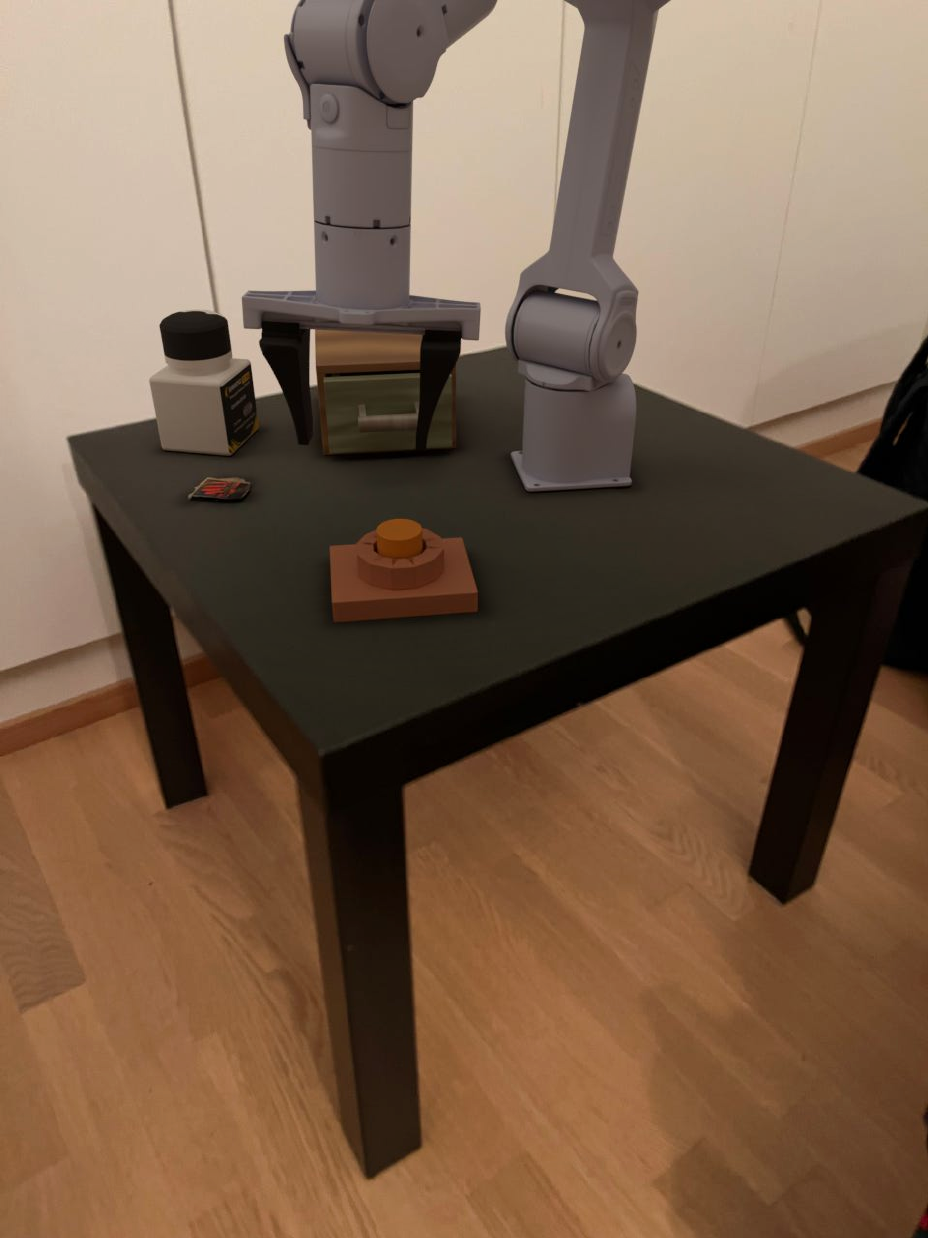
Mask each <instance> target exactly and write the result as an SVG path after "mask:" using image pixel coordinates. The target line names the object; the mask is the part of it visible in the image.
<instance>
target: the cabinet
mask: <svg viewBox="0 0 928 1238" xmlns="http://www.w3.org/2000/svg"><path fill="white" fill-rule="evenodd" d="M422 336H423V335H413V334H393V333H374V332H355V331H335V330H316V329H314V344H315V345H314V348H315V349H314V350H315V351H314V354H315V355H314V356H315V373H316V385H317V397H318V408H319V409H318V410H319V421H320V432H321V443H322V453H323V456H337V455H339V456H340V455H355V454H358V455H359V454H375V453H392V452H413V451H416V450H415V449H403V450H385V451H366V452H347V453H329V441H328V429H327V417H326V405H325V393H324V380H323V378H324V377H331V374H333V373H356V372H379V371H402V370H420V346H421V341H422ZM451 375H452V447H440V448H426V451H429V450H430V451H431V450H432V451H433V450H448V449H457V364H456V365H455V367H454V368H453V370H452V372H451Z"/></svg>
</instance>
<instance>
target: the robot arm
mask: <svg viewBox="0 0 928 1238" xmlns="http://www.w3.org/2000/svg"><path fill="white" fill-rule="evenodd" d="M563 1H564V2H566V3H567V4H569V5H571V6H572V7H574V8H576V9H577V10H578V12H579V15H580V17H581V19H582V22H583V25H584V26H583V27H584V28H583V29H584V30H583V35H582V42H581V47H580V55H579V61H578V68H577V73H576V80H575V85H574V91H573V99H572V103H571V104H572V105H571V111H570V117H569V123H568V129H567V130H568V131H567V137H566V141H565V142H566V143H565V149H564V155H563V162H562V167H561V173H560V180H559V187H558V191H557V199H556V203H555V204H556V205H555V212H554V218H553V224H552V229H551V235H550V236H551V238H550V242H549V248H548V251H547V252H546V253H544V254H543V255H542V256H540V257H539V258H538V259H536V260H535V261H534V262H532V263H531V264H529V265H528V266H526V267H525V268H524V269H523V270H522V271H521V272H520V275H519V281H518V287H517V290H516V294H515V296H514V299H513V302H512V304H511V306H510V308H509V310H508V312H507V316H506V320H505V325H504V337H505V338H504V339H505V345H506V348H507V352H508V354H509V356H510V357H511V358H512V359H513V360H514V361H515V362H517V374H519V375H522V376H524V394H523V395H524V397H523V421H522V422H523V424H522V448H521V450H515V451H512V452H511V453H510V458H511V460H512V463H513V465H514V468H515V469H516V471H517V473H518V476H519V478H520V480H521V483H522V485H523V487H524V490H526V492H530V493H534V492H549V491H551V492H552V491H566V490H584V489H603V488H617V487H629V486H631V485H632V484H633V480H632V478H631V477H630V476H631V470H632V469H631V467H632V458H633V450H634V441H635V430H636V421H637V395H636V389H635V385H634V382H633V379H632V378H631V376H630V375H629V374H627V373H624V372H625V370H626V369H627V368H628V366H629V364H630V362H631V360H632V357H633V355H634V352H635V349H636V344H637V335H638V330H637V329H638V327H637V308H638V301H639V293H640V292H639V289H638V288H637V286H636V285H635V284H634V282H633V281H632V280H631V279H630V277H629V276H628V275H627V274H626V273H625V272H624V271H623V269H622V268H621V267H620V266H619V264H618V263H617V262H616V260H615V259H614V254H615V249H616V243H617V238H618V231H619V226H620V222H621V216H622V211H623V206H624V205H623V204H624V199H625V194H626V190H627V184H628V179H629V173H630V168H631V162H632V158H633V153H634V152H633V151H634V147H635V140H636V135H637V130H638V125H639V121H640V120H639V119H640V114H641V108H642V103H643V99H644V91H645V86H646V81H647V76H648V71H649V66H650V61H651V55H652V54H651V53H652V49H653V44H654V38H655V33H656V27H657V22H658V18H659V17H658V16H659V10H660V9H662V8H663V7H665V6H666V5H667V4H668V3H670V2H671V1H672V0H563ZM497 3H498V0H299V1H298V3H297V4H296V6H295V8H294V11H293V14H292V17H291V23H290V29H289V30H290V31H289V33H285V34H284V35H283V45H284V52H285V56H286V60H287V64H288V67H289V69H290V71H291V74H292V76H293V79H294V80H295V81H296V83H297V85H298V87H299V90H300V93H301V99H302V118H303V120H305V121H306V125H307V128H308V130H310V131H311V132H310V134H311V135H310V137H311V162H312V164H311V166H312V167H311V170H312V171H311V172H312V201H313V204H312V205H313V236H314V237H313V238H314V241H313V242H314V273H315V290H250V289H249V290H247V291H246V292H245V293H244V294H243V295H242V296H241V307H242V308H241V309H242V310H241V311H242V323H243V324H242V325H243V329H244V330H245V329H248V330H261V335H260V336H261V338H260V339H259V341H258V345H259V348H260V351H261V354H262V356H263V358H264V359H265V361H266V363H267V364H268V366H269V368H270V369H271V371H272V373H273V375H274V377H275V378H276V380H277V383H278V385H279V387H280V389H281V392H282V394H283V396H284V398H285V399H284V400H285V401H286V404H287V407H288V409H289V413H290V416H291V419H292V422H293V426H294V430H295V435H296V439H297V444H298V446H309V445H310V443H311V441H312V438H313V436H314V417H313V416H314V415H313V407H312V405H313V404H312V396H311V395H312V394H311V384H310V381H311V380H310V376H311V373H310V369H311V367H310V364H311V363H310V362H311V361H310V358H311V330H315V329H316V330H335V331H355V332H374V333H393V334H413V335H423V336H422V341H421V346H420V400H419V413H418V421H417V430H416V446H415V450H414V451H419V452H425V451H427V450H426V447H427V438H428V433H429V428H430V425H431V421H432V418H433V414H434V411H435V409H436V406H437V403H438V400H439V398H440V395H441V393H442V391H443V388H444V386H445V384H446V382H447V380H448V378H449V376H450V374H451V372H452V370H453V368H454V367H455V365H456V366H457V362H458V360H459V358H460V356H461V352H462V340H464V341H479V340H480V329H481V328H480V327H481V310H482V308H481V303H480V302H479V301H478V302H477V301H465V300H464V301H462V300H455V299H454V300H453V299H446V298H437V297H430V296H429V297H428V296H422V295H413V294H410V287H411V284H410V283H411V240H412V239H411V238H412V237H411V236H412V235H411V234H412V231H411V230H412V224H411V223H412V181H413V180H412V179H413V178H412V177H413V141H414V140H413V139H414V136H413V134H414V133H413V131H414V101H415V100H417V99H422V98H424V97H425V96H426V94H427V93H428V91H429V89H430V87H431V85H432V84H433V81H434V78H435V75H436V72H437V67H438V64H439V60H440V59H441V57H442V56H443V55H444V54H445V53H446V52H447V49H449V48H450V47H451V46H452V45H454V44H455V43H456V42H458V41H459V40H460V39H461V38H462V37H464V36H465V35H466V34H468V33H470V31H471V30H473V29H474V28H476V27H477V26H478V25H479V24H480V23H482V22H483V21H484V20H485V19H487V18H488V17H489V16H490V15H491V14H492V12H493V11H494V9H495V7H496V6H497ZM559 289H561V290H566V291H571V292H577V293H582V294H587V295H590V296H592V297H593V298H595V299H590V298H585V297H580V296H577V295H576V296H575V295H570V294H564V293H560V292H557V291H558V290H559Z"/></svg>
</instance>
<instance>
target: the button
mask: <svg viewBox="0 0 928 1238" xmlns="http://www.w3.org/2000/svg"><path fill="white" fill-rule="evenodd" d="M422 528H423V527H422V525H421V524H420V523H419V522H417V521H415V520H412V519H410V518H409V519H408V518H392V519H388V520H385V521H383V522H381V523H380V524H379V525H378V526H377V527H376V529H375V530H376V534H377V551H378V554H379V555H380V556H381V557H386V558H391V559H409V558H412V557H415V556H417V555H420V554H421V553H422V551H423V543H422Z"/></svg>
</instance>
